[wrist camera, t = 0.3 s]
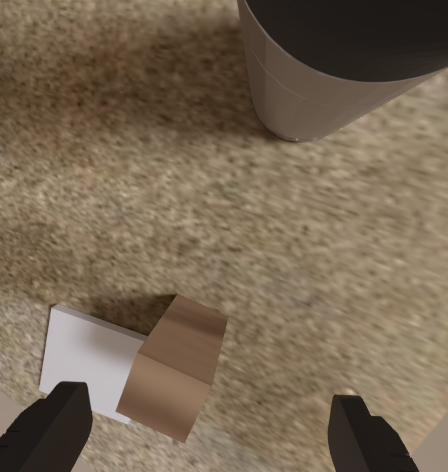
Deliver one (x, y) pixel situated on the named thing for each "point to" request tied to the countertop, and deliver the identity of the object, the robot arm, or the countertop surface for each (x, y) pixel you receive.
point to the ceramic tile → (89, 357)
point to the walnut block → (174, 369)
